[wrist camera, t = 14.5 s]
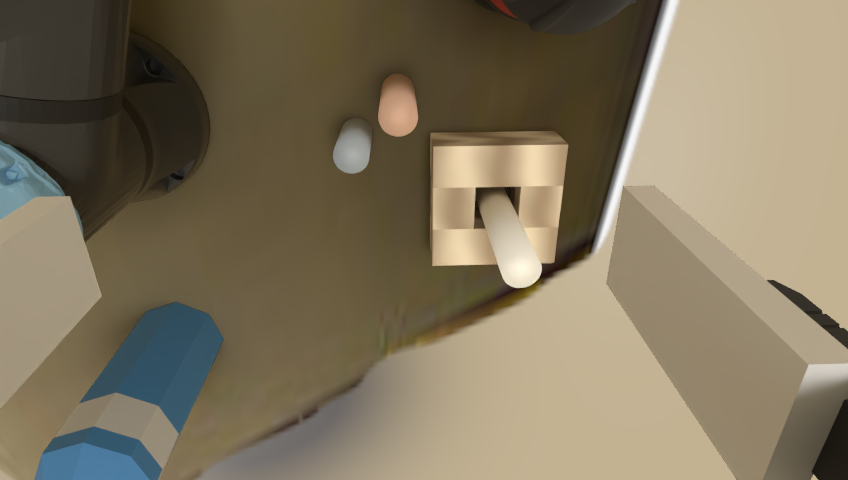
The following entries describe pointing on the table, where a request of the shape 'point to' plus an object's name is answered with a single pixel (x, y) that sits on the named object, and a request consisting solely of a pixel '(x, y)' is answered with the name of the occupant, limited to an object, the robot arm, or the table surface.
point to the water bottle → (137, 401)
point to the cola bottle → (558, 13)
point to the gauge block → (493, 167)
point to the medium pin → (397, 105)
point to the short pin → (353, 146)
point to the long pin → (508, 238)
